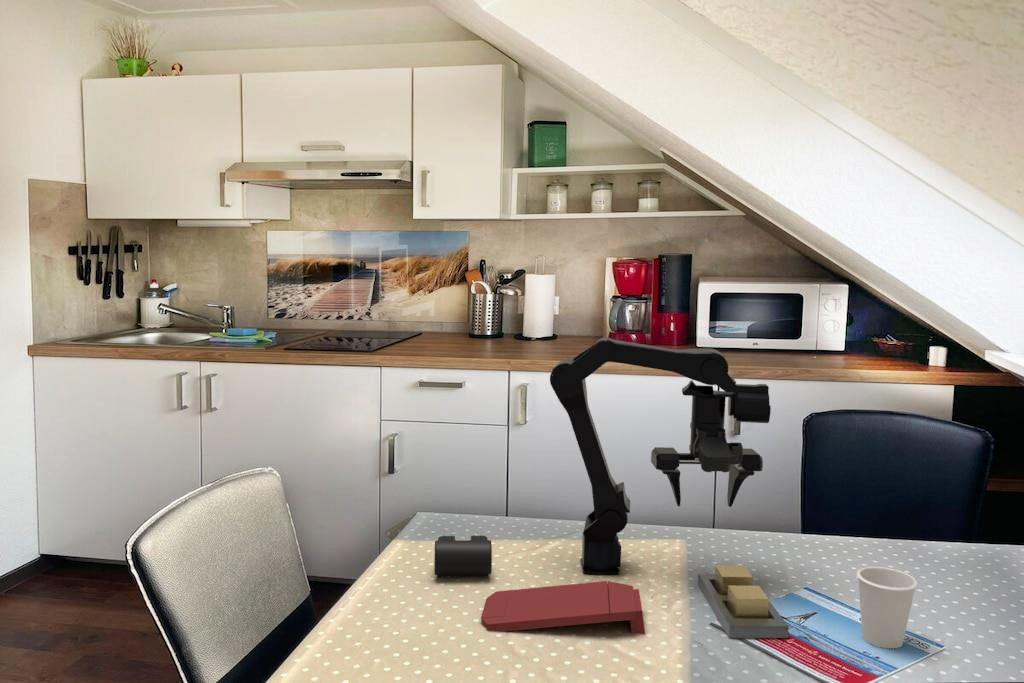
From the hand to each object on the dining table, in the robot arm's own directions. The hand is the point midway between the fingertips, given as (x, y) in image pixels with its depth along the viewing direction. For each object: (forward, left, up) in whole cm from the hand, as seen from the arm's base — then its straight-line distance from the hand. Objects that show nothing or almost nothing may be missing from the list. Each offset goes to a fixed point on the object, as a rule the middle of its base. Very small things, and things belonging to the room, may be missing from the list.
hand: (703, 505), depth 148 cm
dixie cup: (+22, -24, -13) cm, 35 cm away
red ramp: (-26, -17, -14) cm, 34 cm away
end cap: (-43, -1, -13) cm, 45 cm away
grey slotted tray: (+3, -14, -13) cm, 19 cm away
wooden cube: (+3, -18, -13) cm, 23 cm away
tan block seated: (+3, -10, -13) cm, 17 cm away
